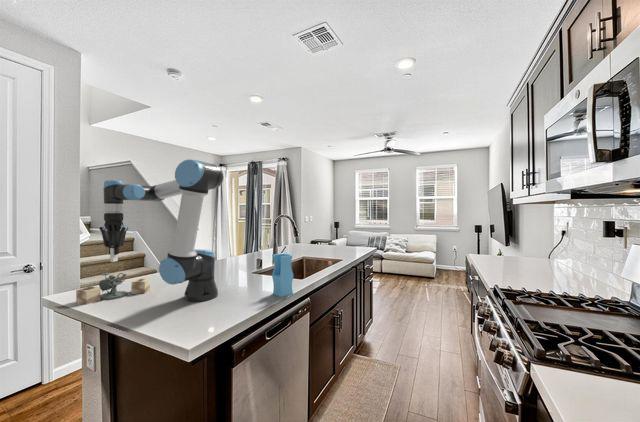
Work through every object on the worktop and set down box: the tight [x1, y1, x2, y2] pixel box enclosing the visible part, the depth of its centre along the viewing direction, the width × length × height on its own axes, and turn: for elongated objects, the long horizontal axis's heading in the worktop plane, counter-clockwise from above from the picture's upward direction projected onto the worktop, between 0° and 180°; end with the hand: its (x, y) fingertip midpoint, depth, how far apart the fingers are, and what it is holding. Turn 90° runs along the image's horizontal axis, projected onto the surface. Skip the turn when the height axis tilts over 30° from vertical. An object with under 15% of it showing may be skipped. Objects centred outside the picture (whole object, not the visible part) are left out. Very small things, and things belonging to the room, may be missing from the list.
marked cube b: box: [75, 285, 101, 305], centre depth 125 cm, size 6×6×6 cm
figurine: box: [98, 272, 128, 301], centre depth 132 cm, size 11×11×12 cm
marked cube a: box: [130, 278, 151, 295], centre depth 140 cm, size 6×6×6 cm
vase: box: [271, 252, 295, 298], centre depth 140 cm, size 8×8×20 cm
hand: (114, 261), depth 132 cm, fingers closed
